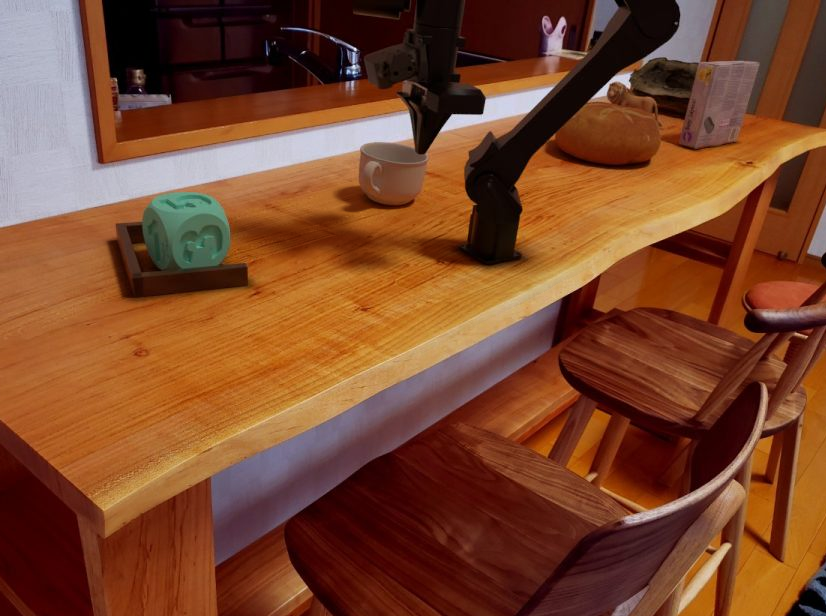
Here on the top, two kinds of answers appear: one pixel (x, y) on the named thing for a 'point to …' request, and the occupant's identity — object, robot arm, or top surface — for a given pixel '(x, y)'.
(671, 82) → the hollow geode rock
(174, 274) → the walnut frame
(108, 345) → the top surface
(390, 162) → the teacup
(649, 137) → the bread
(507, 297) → the top surface
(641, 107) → the lion figurine
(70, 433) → the top surface
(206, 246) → the decorative dice
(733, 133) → the cake pan box
